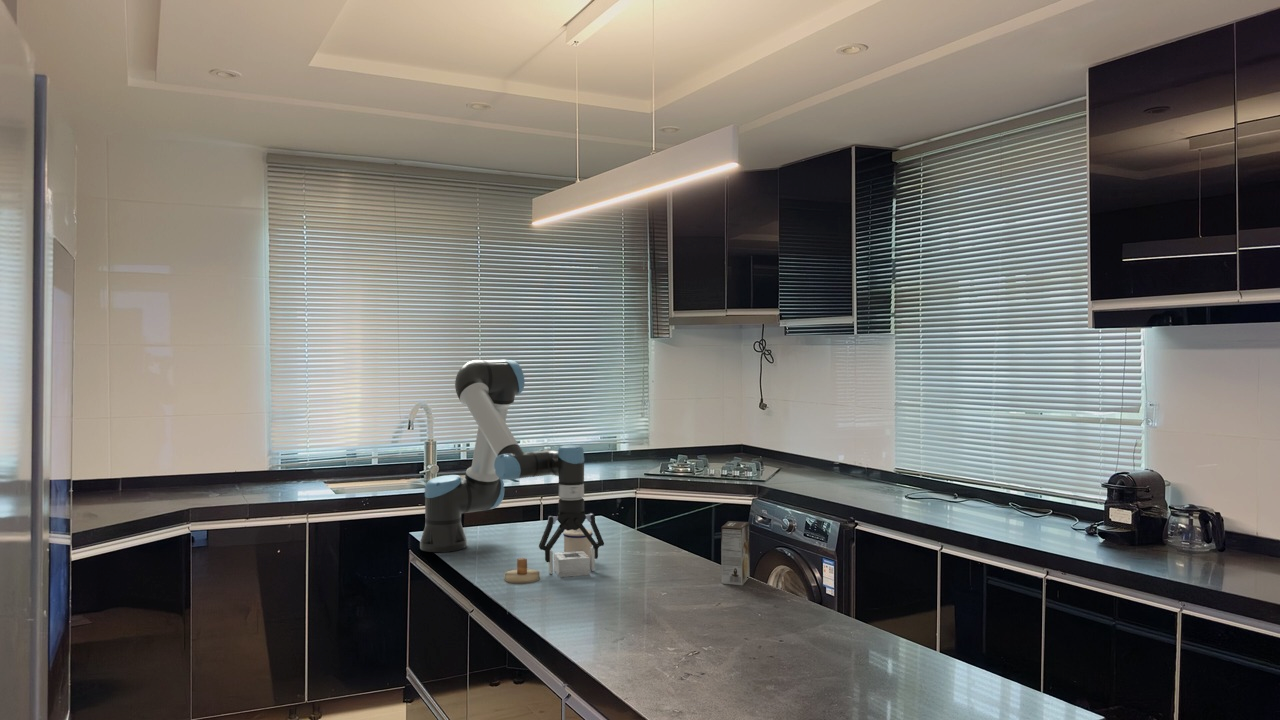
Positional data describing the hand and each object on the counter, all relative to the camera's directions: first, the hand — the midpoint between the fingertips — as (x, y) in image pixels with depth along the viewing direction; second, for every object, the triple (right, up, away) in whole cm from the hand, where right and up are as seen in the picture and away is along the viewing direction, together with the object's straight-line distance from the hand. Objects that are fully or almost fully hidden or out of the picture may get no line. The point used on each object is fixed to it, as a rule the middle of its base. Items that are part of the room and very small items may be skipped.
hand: (571, 571), depth 251 cm
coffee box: (+47, 0, -10) cm, 48 cm away
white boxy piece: (0, 0, 0) cm, 0 cm away
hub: (-14, 0, -7) cm, 15 cm away
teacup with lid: (0, 0, +15) cm, 15 cm away
